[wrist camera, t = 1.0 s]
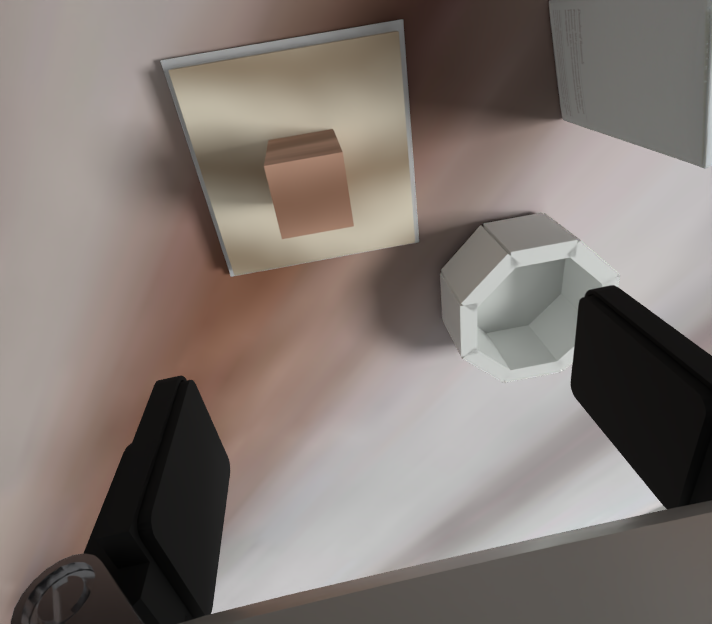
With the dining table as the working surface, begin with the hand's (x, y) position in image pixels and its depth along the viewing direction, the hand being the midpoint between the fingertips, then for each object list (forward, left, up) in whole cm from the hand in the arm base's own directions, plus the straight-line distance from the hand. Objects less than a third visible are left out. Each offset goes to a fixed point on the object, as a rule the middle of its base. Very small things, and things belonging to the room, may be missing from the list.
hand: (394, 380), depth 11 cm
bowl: (+12, +13, -23) cm, 29 cm away
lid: (0, -1, -22) cm, 22 cm away
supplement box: (-4, +19, -23) cm, 30 cm away
